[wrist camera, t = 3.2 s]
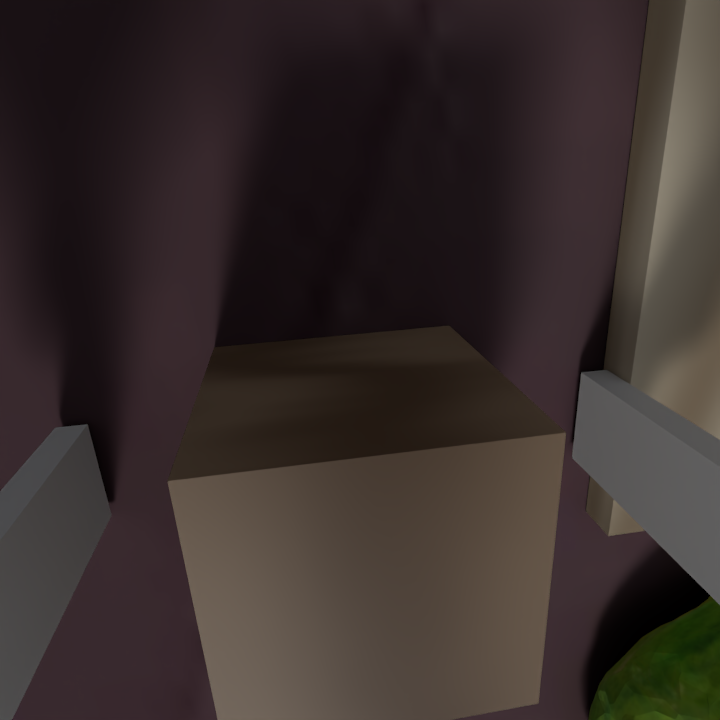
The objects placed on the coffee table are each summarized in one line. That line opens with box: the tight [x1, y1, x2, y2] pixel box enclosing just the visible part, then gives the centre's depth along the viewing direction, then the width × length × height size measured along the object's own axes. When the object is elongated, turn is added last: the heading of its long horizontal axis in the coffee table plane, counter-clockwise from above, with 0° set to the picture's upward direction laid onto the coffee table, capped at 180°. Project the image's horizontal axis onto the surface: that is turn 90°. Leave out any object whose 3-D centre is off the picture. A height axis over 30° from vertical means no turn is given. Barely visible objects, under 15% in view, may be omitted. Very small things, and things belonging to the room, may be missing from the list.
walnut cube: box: [168, 326, 566, 720], centre depth 12 cm, size 6×6×6 cm
